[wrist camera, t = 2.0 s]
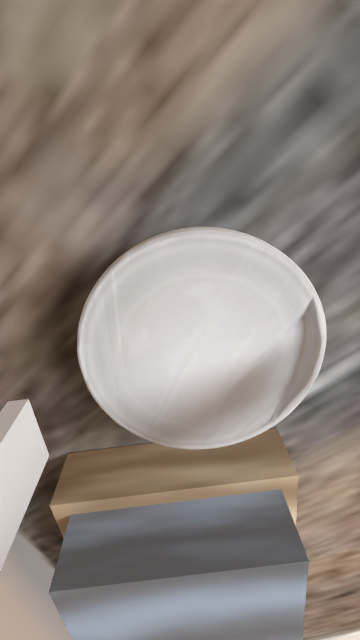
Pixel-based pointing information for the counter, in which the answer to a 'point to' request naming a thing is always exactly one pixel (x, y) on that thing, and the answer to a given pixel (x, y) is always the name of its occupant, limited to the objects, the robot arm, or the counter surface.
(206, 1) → the counter surface
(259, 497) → the block tower
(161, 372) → the ramekin
